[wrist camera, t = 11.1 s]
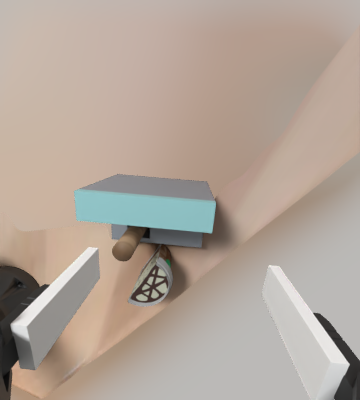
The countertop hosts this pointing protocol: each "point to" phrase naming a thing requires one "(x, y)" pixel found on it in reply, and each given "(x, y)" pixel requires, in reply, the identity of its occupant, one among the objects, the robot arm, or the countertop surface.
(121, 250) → the peg
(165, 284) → the food container
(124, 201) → the socket
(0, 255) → the countertop surface
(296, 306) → the robot arm
